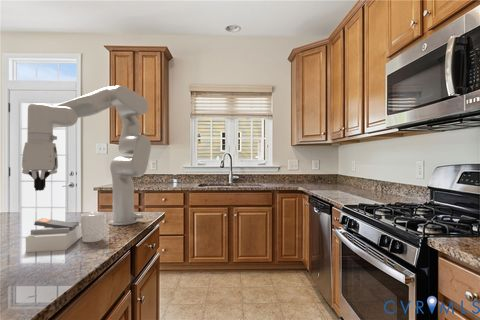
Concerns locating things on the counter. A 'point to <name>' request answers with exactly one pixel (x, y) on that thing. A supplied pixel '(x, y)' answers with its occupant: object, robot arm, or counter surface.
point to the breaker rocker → (55, 223)
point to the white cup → (92, 226)
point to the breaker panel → (52, 238)
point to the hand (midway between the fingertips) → (39, 190)
